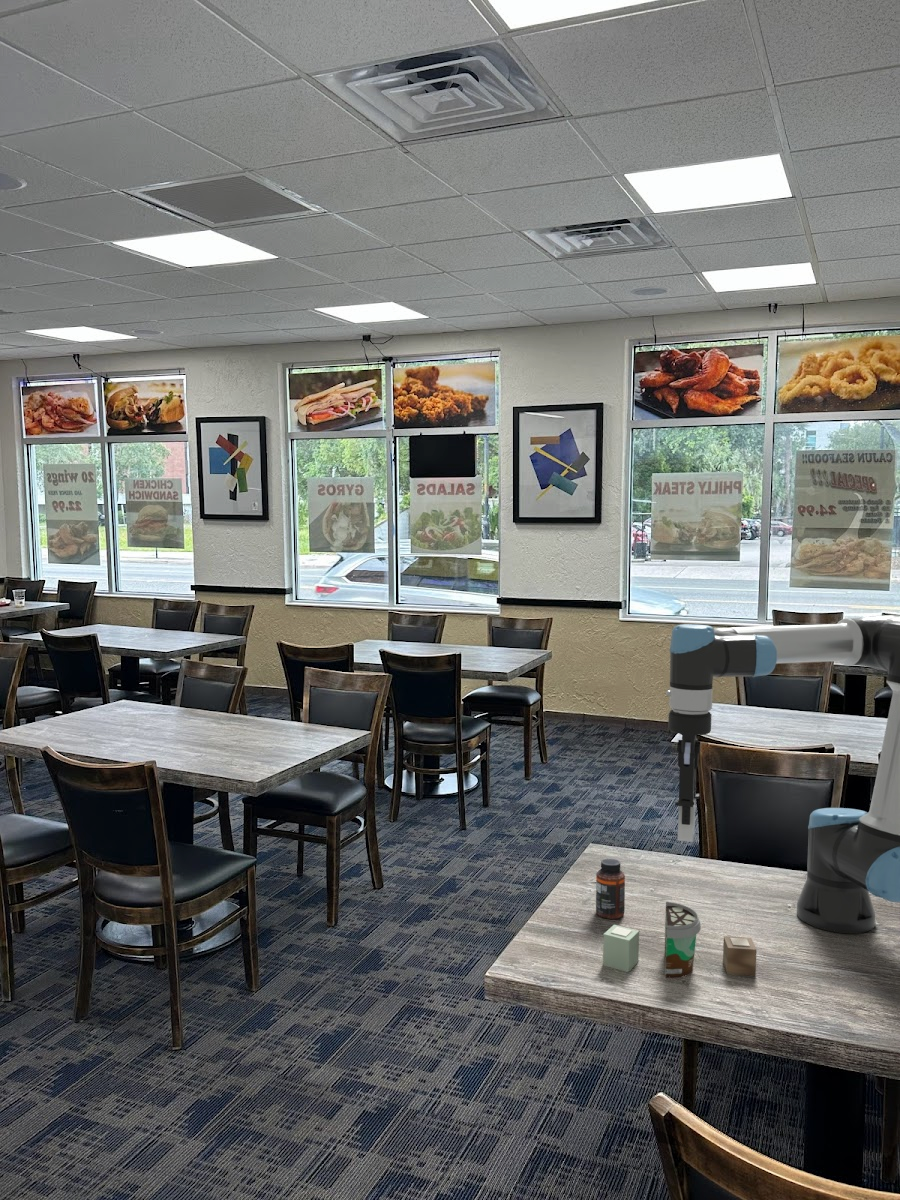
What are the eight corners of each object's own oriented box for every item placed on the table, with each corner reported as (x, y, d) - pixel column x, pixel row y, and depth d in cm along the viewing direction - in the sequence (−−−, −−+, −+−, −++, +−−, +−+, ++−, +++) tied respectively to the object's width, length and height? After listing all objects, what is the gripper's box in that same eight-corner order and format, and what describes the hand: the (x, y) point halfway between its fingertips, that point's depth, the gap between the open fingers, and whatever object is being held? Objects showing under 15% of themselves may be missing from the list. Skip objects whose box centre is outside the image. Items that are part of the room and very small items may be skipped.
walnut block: (750, 963, 176) (751, 936, 176) (755, 976, 171) (756, 948, 171) (722, 961, 177) (723, 935, 176) (727, 974, 172) (728, 946, 171)
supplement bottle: (623, 909, 200) (624, 857, 199) (625, 920, 194) (626, 867, 194) (594, 908, 201) (595, 856, 200) (596, 919, 195) (597, 866, 194)
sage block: (638, 962, 176) (639, 929, 176) (628, 972, 172) (629, 939, 171) (613, 955, 179) (614, 923, 178) (602, 965, 174) (603, 932, 174)
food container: (701, 985, 167) (703, 930, 166) (665, 981, 168) (667, 926, 168) (697, 954, 179) (699, 903, 179) (664, 951, 180) (665, 900, 180)
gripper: (672, 701, 179) (668, 822, 181) (665, 717, 164) (661, 849, 165) (713, 703, 177) (709, 826, 179) (709, 720, 161) (705, 854, 163)
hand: (686, 837), depth 172 cm, fingers open, 3 cm apart
